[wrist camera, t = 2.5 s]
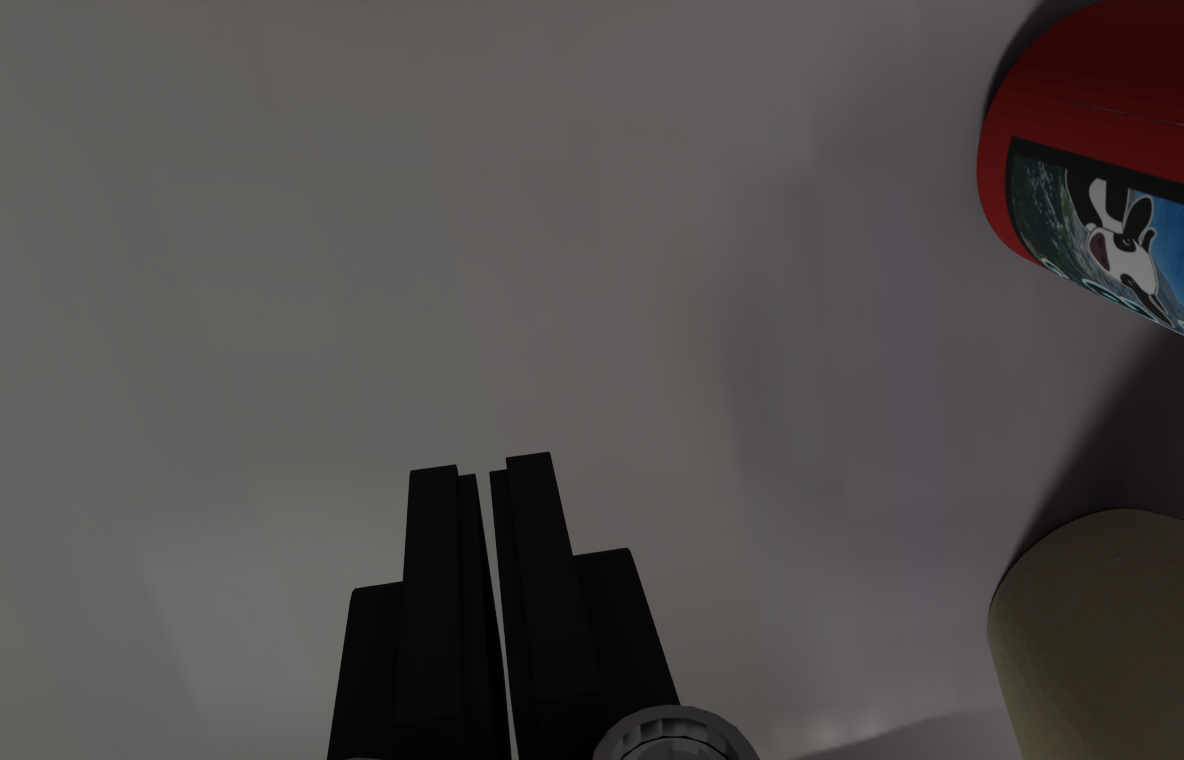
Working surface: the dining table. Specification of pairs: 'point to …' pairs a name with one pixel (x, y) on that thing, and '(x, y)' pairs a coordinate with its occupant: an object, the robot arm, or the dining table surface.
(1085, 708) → the plant pot
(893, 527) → the dining table surface
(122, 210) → the dining table surface
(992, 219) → the beverage can
